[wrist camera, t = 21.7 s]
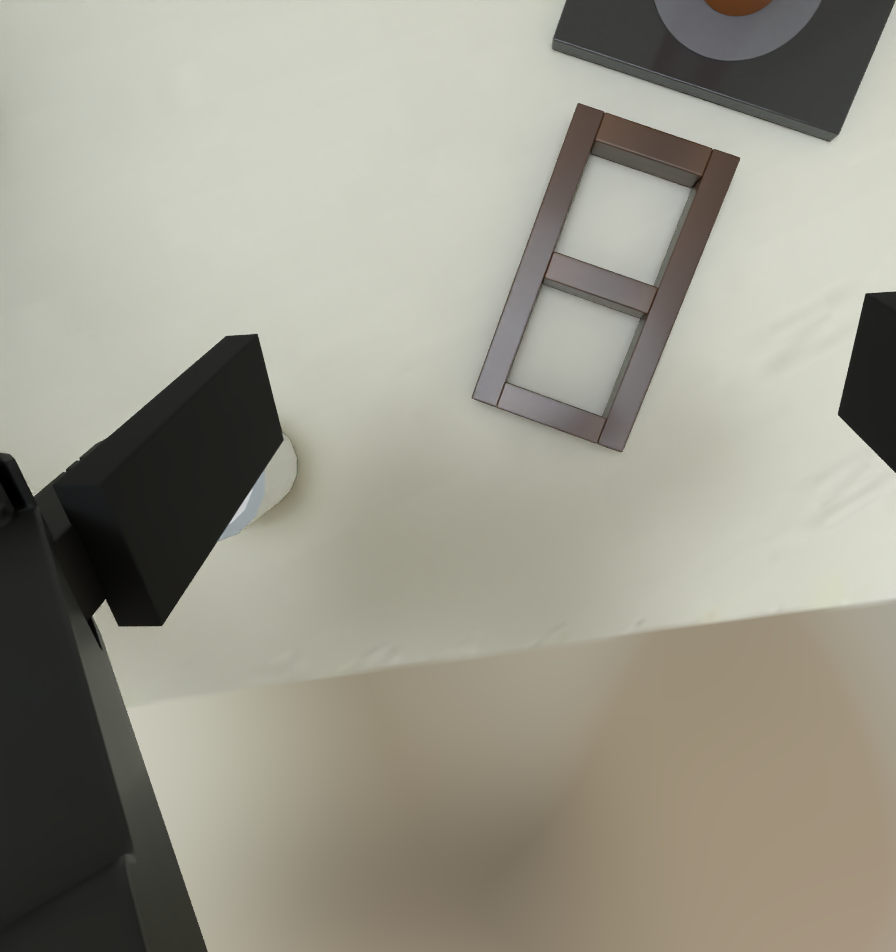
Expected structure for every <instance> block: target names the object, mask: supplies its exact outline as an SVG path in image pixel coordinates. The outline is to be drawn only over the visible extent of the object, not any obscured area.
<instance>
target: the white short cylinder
mask: <svg viewBox="0 0 896 952" xmlns="http://www.w3.org/2000/svg"><path fill="white" fill-rule="evenodd" d="M282 434H283V433H282ZM283 438H284V441H283V442H282V444H281V445H280V447H279V448H278V450H277V451H276V453H275V454H274V456H273V457H272V459H271V460H270V462H269V463H268V465H267V466H266V468H265V470H264V471H263V473H262V474H261V476H260V477H259V479H258V480H257V482H256V483H255V485H254V486H253V488H252V489H251V491H250V492H249V494H248V495H247V497H246V499H245V500H244V502H243V503H242V505H241V506H240V508H239V509H238V511H237V512H236V514H235V515H234V517H233V518H232V520H231V521H230V523H229V524H228V526H227V528H226V529H225V531H224V532H223V534H222V535H221V537H220V538H219V540H218V541H220V540H223V539H225V538H228V537H230V536H233V535H236V534H238V533H240V532H241V531H242V530H244V529H245V528H246V527H247V526H249V525H250V524H251V523H253V522H254V521H255V520H256V519H258V518H259V517H260V516H262V515H263V514H264V513H265V512H267V511H268V510H269V509H271V508H272V507H273V506H274V505H276V504H277V503H278V502H279V501H280V500H281V499H282V498H283V497H284V496H285V495H286V494H287V493H288V492H289V491H290V490H291V488H292V485H293V483H294V480H295V478H296V476H297V456H296V454H295V451H294V449H293V446H292V444H291V442H290V440H289V439H288V438H287V437H286V436H285V435H284V434H283Z"/></svg>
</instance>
